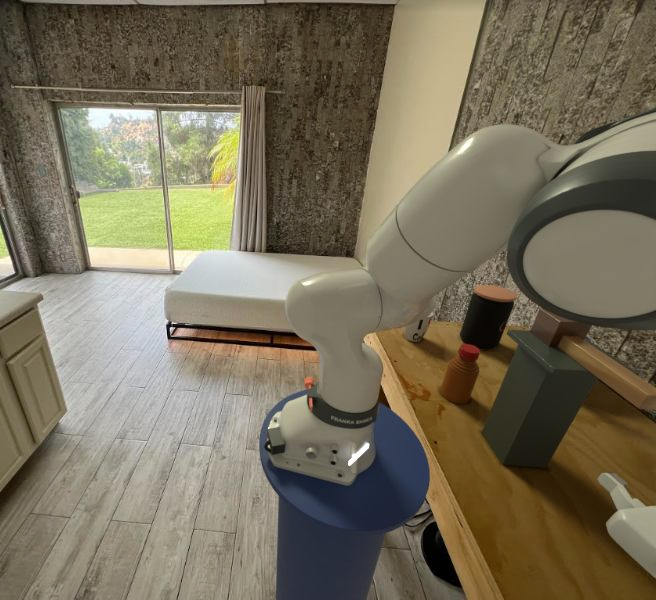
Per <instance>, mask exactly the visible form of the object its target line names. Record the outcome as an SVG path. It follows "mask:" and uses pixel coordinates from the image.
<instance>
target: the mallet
mask: <svg viewBox="0 0 656 600" xmlns="http://www.w3.org/2000/svg"><path fill="white" fill-rule="evenodd" d="M592 326H593V325H587V324H583V323H579V322H575V321H572V320H568V319H566V318H563V317H560V316H557V315H555V314H553V313H551V312H549V311H547V310H545V309H543V308H541V307H539V309H538V311H537V314H536V316H535V318H534V320H533V323H532V325H531V327H530V329H529V331H530V332H531V333H532V334H533V335H535V336H536V337H537V338H538V339H540V340H541V341H542V342H544V343H545V344H546V345H547V346H549V347H558V348H559V349H560V350H562V351H563V352H564V353H566V354H567V355H568V356H570V357H571V358H572V359H574V360H575V361H576V362H578V363H579V364H580V365H582V366H583V367H584V368H586V369H587V370H588V371H590V372H591V373H592V374H594V375H595V376H596V377H598V378H597V379H599V380H600V381H601V382H603V383H604V384H606V386H607V387H609V388H611V389H612V390H614V391H615V392H616V393H617V394H619V395H620V396H621V397H623V398H624V399H625V400H627V401H628V402H629V403H631V404H632V405H633V406H634V407H636V408H637V409H638V410H649V411H650V410H651V411H656V386H654V385H652V384H651V383H649V382H647V380H645V379H643V378H642V377H640V375H638V376H637V375H636V374H634V373H633V372H631V371H630V370H628V369H627V368H625V367H624V366H622V365H621V364H619V363H618V362H616V361H615V360H613V359H612V358H610V357H609V356H607V355H606V354H604V353H602V352H601V351H599V350H598V349H596V348H595V347H593V346H592V345H590V344H589V343H587V342H586V341H584V340H585V338H586V336H587V335H589V332H590V330H591V328H592Z"/></svg>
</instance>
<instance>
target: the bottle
mask: <svg viewBox="0 0 656 600" xmlns="http://www.w3.org/2000/svg"><path fill="white" fill-rule="evenodd" d="M479 374H480V366H479V364H478V362H477V360H476V361H469V360H465V359H463V358H461V357H460V356H459V355H456V356H454V357H452V358H451V359H450V360H449V362H448V365H447V367H446V370H445V374H444V376H443V381H442V384H441V387H440V389H439V390H440V394H441V395H442V397H443V398H445V399H446V400H448V401H450V402H452V403H455V404H460V405H463V404H467V403H468V402H469V401H470V399H471V397H472V393H473V391H474V388H475V385H476V382H477V379H478V377H479Z"/></svg>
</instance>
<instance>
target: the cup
mask: <svg viewBox="0 0 656 600" xmlns="http://www.w3.org/2000/svg"><path fill="white" fill-rule="evenodd" d="M433 315H434V312H433V311H432V313H431V314H430V315H429V316H428V317H426V318H424V319H422V320H420V321H417V322H415V323H413V324H410V325H408V326H405V327H403V328H402V329H403V335H404V336H403V337H404V338H405V339H406V340H407V341H410V342H413V343H415V342H420V341H422V340H423V338H424V336H425V335H426V333H427V331H428V329H429V327H430V324H431V321H432V318H433Z"/></svg>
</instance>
